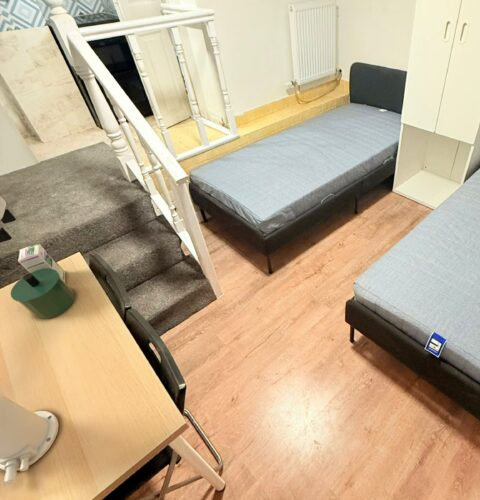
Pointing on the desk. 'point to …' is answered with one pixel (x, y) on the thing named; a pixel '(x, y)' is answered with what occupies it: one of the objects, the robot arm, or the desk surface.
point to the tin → (51, 302)
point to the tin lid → (35, 285)
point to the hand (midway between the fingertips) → (8, 230)
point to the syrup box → (38, 260)
